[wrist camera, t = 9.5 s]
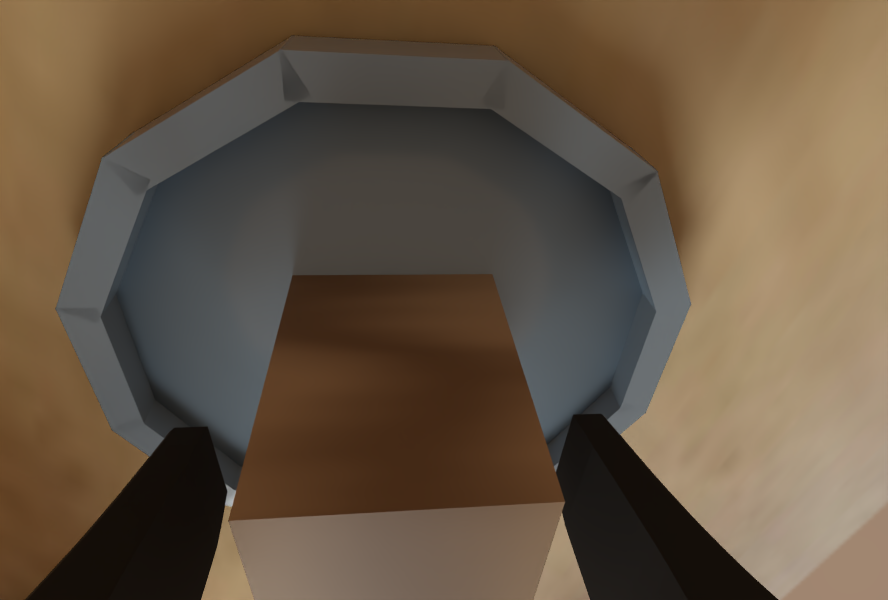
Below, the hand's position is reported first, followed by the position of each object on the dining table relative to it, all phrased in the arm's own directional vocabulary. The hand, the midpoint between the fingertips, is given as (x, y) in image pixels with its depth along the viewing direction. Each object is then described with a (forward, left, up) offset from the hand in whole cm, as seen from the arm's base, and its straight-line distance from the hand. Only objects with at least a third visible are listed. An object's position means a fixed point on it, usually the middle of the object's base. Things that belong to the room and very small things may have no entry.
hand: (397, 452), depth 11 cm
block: (0, 0, -3) cm, 3 cm away
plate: (0, 0, -4) cm, 4 cm away
